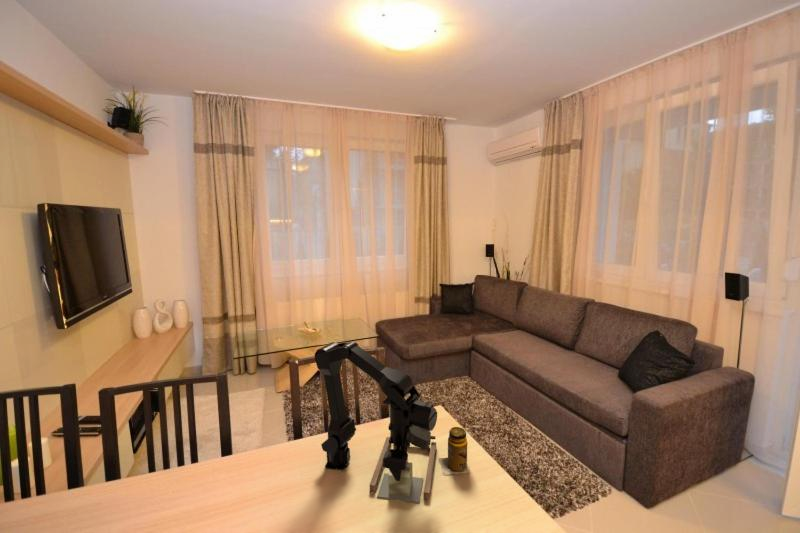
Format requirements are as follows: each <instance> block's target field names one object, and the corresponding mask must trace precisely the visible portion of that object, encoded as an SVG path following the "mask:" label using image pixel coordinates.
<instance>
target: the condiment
mask: <svg viewBox="0 0 800 533" xmlns="http://www.w3.org/2000/svg"><path fill="white" fill-rule="evenodd" d="M448 433H449V435H448V438H447V457H440V458H439V457H438V460H439V463H440V467H441V469H442V472H443V475H444V476H447V475H448V476H449V475H457V474H459V475H460V474H468V473H472V471H471V468H470V467H469V465H468V439H467V431H466V430H465V429H464V428H462V427H460V426H453V427H451V428H450V429H449V432H448Z"/></svg>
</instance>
